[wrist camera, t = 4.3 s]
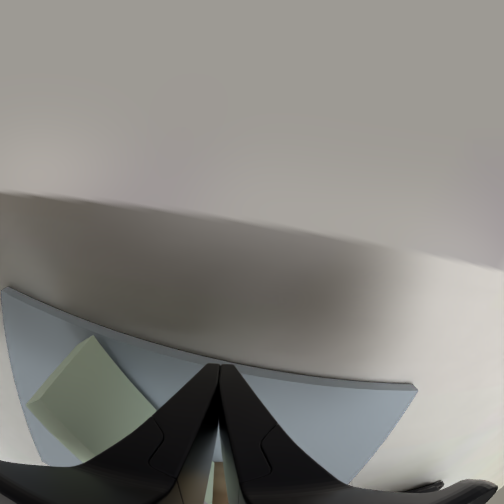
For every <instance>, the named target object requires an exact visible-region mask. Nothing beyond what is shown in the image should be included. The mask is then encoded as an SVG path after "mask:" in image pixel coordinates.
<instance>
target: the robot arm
mask: <svg viewBox="0 0 504 504" xmlns="http://www.w3.org/2000/svg"><path fill="white" fill-rule="evenodd" d="M218 426H219V435H220V443H221V452H222V460H223V467H224V475H225V482H226V489H227V496H228V503H229V504H485V503H486V502H487V501H488V500H489V499H490V498H491V497H492V496H493V495H494V494H495V493H496V491H497V489H498V486H497V485H495V484H494V483H492V482H489V481H486V480H475V479H466V480H462V481H460V482H457V483H455V484H453V485H451V486H449V487H447V488H445V489H442V490H440V489H441V488H442V487H443V486H444V483H443V482H438V483H435V484H432V485H429V486H425V487H422V488H418V489H415V490H411V491H407V492H403V493H398V492H387V491H378V490H370V489H362V488H356V487H353V486H350V485H347V484H345V483H343V482H342V481H340V480H338V479H337V478H336V477H334V476H333V475H332V474H331V473H329V472H328V471H327V470H326V469H324V468H323V467H322V466H321V465H320V464H318V463H317V462H316V461H315V460H314V459H312V458H311V457H310V456H309V455H308V454H307V453H306V452H304V451H303V450H302V449H301V448H300V447H299V446H298V445H297V444H296V443H295V442H294V441H293V440H292V439H291V438H290V437H289V435H288V434H287V433H286V432H285V431H284V430H283V428H282V427H281V426H280V425H279V424H278V422H277V421H276V420H275V418H274V417H273V416H272V415H271V413H270V412H269V411H268V409H267V408H266V407H265V406H264V404H263V403H262V402H261V400H260V399H259V398H258V396H257V395H256V394H255V392H254V391H253V390H252V388H251V387H250V386H249V384H248V383H247V382H246V380H245V379H244V378H243V376H242V375H241V373H240V372H239V371H238V369H237V368H236V366H235V365H234V364H221V366H220V364H218V363H207V364H206V365H205V366H204V367H203V368H202V369H201V370H200V371H199V372H198V373H196V374H195V375H194V376H193V377H192V378H191V379H190V380H189V381H188V382H187V383H186V384H185V385H184V386H183V387H182V388H181V389H180V390H179V391H178V392H177V393H175V394H174V395H173V396H172V397H171V398H170V399H169V400H168V401H167V402H166V403H165V404H164V405H163V406H161V407H160V408H159V409H158V410H157V411H156V412H155V413H154V414H153V415H152V417H149V418H148V419H147V420H146V421H145V422H144V423H143V424H141V425H140V426H139V427H138V428H137V429H135V430H134V431H133V432H132V433H130V434H129V435H127V436H126V437H125V438H123V439H122V440H120V441H119V442H117V443H116V444H114V445H113V446H111V447H109V448H108V449H106V450H105V451H103V452H101V453H100V454H98V455H97V456H95V457H93V458H92V459H90V460H88V461H86V462H84V463H82V464H79V465H76V466H71V467H55V466H38V465H27V464H18V463H11V462H5V461H1V460H0V504H204V499H205V494H206V489H207V484H208V479H209V474H210V469H211V464H212V459H213V454H214V449H215V444H216V438H217V433H218Z"/></svg>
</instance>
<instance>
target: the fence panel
mask: <svg viewBox="0 0 504 504" xmlns="http://www.w3.org/2000/svg"><path fill="white" fill-rule="evenodd" d="M26 407H27V408H28V409H29V410H30V411H31V412H32V413H33V415H34V416H35V417H36V418H37V419H38V420H39V421H40V422H41V423H42V424H43V425H44V426H45V428H46V429H47V430H48V431H49V432H50V433H51V434H52V435H53V436H54V437H55V438H56V439H57V440H58V441H59V442H60V443H62V444H63V445H64V446H65V447H66V448H67V449H68V450H69V451H70V452H71V453H72V454H74V455H75V456H76V457H77V458H78V459H79V460H80V461H82V462H83V463H84V462H86V461H88V460H90V459H92V458H93V457H95V456H97V455H98V454H100V453H101V452H103V451H105V450H106V449H108V448H109V447H111V446H113V445H114V444H116V443H117V442H119V441H120V440H122V439H123V438H125V437H126V436H127V435H129V434H130V433H132V432H133V431H134V430H135V429H137V428H138V427H139V426H140V425H141V424H143V423H144V422H145V421H146V420H147V419H148V418H149V417H152V415H153V414H154V413H155V412H156V411H157V410H156V409H155V408H154V407H153V406H152V405H151V404H150V403H149V401H148V400H147V399H146V398H145V397H144V396H143V395H142V394H141V393H140V392H139V391H138V390H137V388H136V387H135V386H134V385H133V384H132V383H131V382H130V380H129V379H128V378H127V377H126V376H125V375H124V373H123V372H122V371H121V370H120V369H119V367H118V366H117V365H116V364H115V363H114V361H113V360H112V359H111V358H110V356H109V355H108V354H107V352H106V351H105V350H104V349H103V347H102V346H101V345H100V343H99V342H98V341H97V339H96V338H95V337H94V335H93V336H91V337H89V338H88V339H86V340H84V341H82V342H81V343H79V344H78V345H77V346H76V347H75V348H74V349H73V350H72V351H71V352H70V354H69V355H68V356H67V357H66V358H65V359H64V360H63V361H62V362H61V364H60V365H59V366H58V367H57V368H56V369H55V370H54V372H53V373H52V374H51V375H50V376H49V377H48V379H47V380H46V381H45V382H44V383H43V384H42V386H41V387H40V388H39V389H38V390H37V392H36V393H35V394H34V395H33V396H32V398H31V399H30V400H29V401H28V402H27V404H26ZM213 479H214V462H213V461H212V464H211V469H210V474H209V479H208V484H207V489H206V494H205V499H204V504H212V497H213Z"/></svg>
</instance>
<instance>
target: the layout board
mask: <svg viewBox="0 0 504 504" xmlns="http://www.w3.org/2000/svg"><path fill="white" fill-rule="evenodd" d="M1 302H2V312H3V321H4V329H5V336H6V342H7V348H8V353H9V358H10V363H11V368H12V372H13V377H14V381H15V385H16V388H17V392H18V396H19V399H20V403H21V406H22V409H23V412H24V415H25V418H26V421H27V424H28V427H29V430H30V433H31V435H32V438H33V440H34V443H35V446H36V448H37V450H38V453H39V455H40V457H41V460H42V462H44V463H46V464H47V465H49V466H55V467H71V466H76V465H79V464H82V463H83V462H82V461H80V460H79V459H78V458H77V457H76V456H75V455H74V454H72V453H71V452H70V451H69V450H68V449H67V448H66V447H65V446H64V445H63V444H62V443H60V442H59V441H58V440H57V439H56V438H55V437H54V436H53V435H52V434H51V433H50V432H49V431H48V430H47V429H46V428H45V426H44V425H43V424H42V423H41V422H40V421H39V420H38V419H37V418H36V417H35V416H34V415H33V413H32V412H31V411H30V410H29V409H28V408H27V407H26V404H27V402H28V401H29V400H30V399H31V398H32V396H33V395H34V394H35V393H36V392H37V390H38V389H39V388H40V387H41V386H42V384H43V383H44V382H45V381H46V380H47V379H48V377H49V376H50V375H51V374H52V373H53V372H54V370H55V369H56V368H57V367H58V366H59V365H60V364H61V362H62V361H63V360H64V359H65V358H66V357H67V356H68V355H69V354H70V352H71V351H72V350H73V349H74V348H75V347H76V346H77V345H78V344H79V343H81V342H82V341H84V340H86V339H88V338H89V337H91V336H93V335H94V337H95V338H96V339H97V341H98V342H99V343H100V345H101V346H102V347H103V349H104V350H105V351H106V352H107V354H108V355H109V356H110V358H111V359H112V360H113V361H114V363H115V364H116V365H117V366H118V367H119V369H120V370H121V371H122V372H123V373H124V375H125V376H126V377H127V378H128V379H129V380H130V382H131V383H132V384H133V385H134V386H135V387H136V388H137V390H138V391H139V392H140V393H141V394H142V395H143V396H144V397H145V398H146V399H147V400H148V401H149V403H150V404H151V405H152V406H153V407H154V408H155V409H156V410H158V409H159V408H160V407H161V406H163V405H164V404H165V403H166V402H167V401H168V400H169V399H170V398H171V397H172V396H173V395H174V394H175V393H177V392H178V391H179V390H180V389H181V388H182V387H183V386H184V385H185V384H186V383H187V382H188V381H189V380H190V379H191V378H192V377H193V376H194V375H195V374H196V373H198V372H199V371H200V370H201V369H202V368H203V367H204V366H205V365H206V364H207V363H218V364H220V366H221V364H234V365H235V366H236V368H237V369H238V371H239V372H240V373H241V375H242V376H243V378H244V379H245V380H246V382H247V383H248V384H249V386H250V387H251V388H252V390H253V391H254V392H255V394H256V395H257V396H258V398H259V399H260V400H261V402H262V403H263V404H264V406H265V407H266V408H267V409H268V411H269V412H270V413H271V415H272V416H273V417H274V418H275V420H276V421H277V422H278V424H279V425H280V426H281V427H282V428H283V430H284V431H285V432H286V433H287V434H288V435H289V437H290V438H291V439H292V440H293V441H294V442H295V443H296V444H297V445H298V446H299V447H300V448H301V449H302V450H303V451H304V452H306V453H307V454H308V455H309V456H310V457H311V458H312V459H314V460H315V461H316V462H317V463H318V464H320V465H321V466H322V467H323V468H324V469H326V470H327V471H328V472H329V473H331V474H332V475H333V476H334V477H336V478H337V479H338V480H340V481H342V482H343V483H345V484H347V485H348V484H349V482H350V481H351V480H352V479H353V478H354V477H355V476H356V475H357V474H358V473H359V471H360V470H361V469H362V468H363V467H364V466H365V464H366V463H367V462H368V461H369V460H370V458H371V457H372V456H373V455H374V453H375V452H376V451H377V450H378V448H379V447H380V446H381V445H382V443H383V442H384V441H385V439H386V438H387V437H388V435H389V434H390V433H391V431H392V430H393V428H394V427H395V426H396V424H397V423H398V421H399V420H400V418H401V417H402V415H403V414H404V413H405V411H406V409H407V408H408V406H409V405H410V403H411V402H412V400H413V399H414V397H415V395H416V394H417V392H418V390H417V388H416V387H415V386H414V385H413V384H395V383H376V382H362V381H350V380H339V379H330V378H321V377H313V376H306V375H299V374H292V373H285V372H279V371H273V370H267V369H262V368H256V367H251V366H246V365H241V364H236V363H231V362H226V361H222V360H217V359H213V358H209V357H205V356H200V355H196V354H192V353H188V352H185V351H181V350H177V349H173V348H170V347H166V346H162V345H159V344H156V343H152V342H149V341H145V340H142V339H139V338H136V337H133V336H129V335H126V334H123V333H120V332H117V331H114V330H111V329H109V328H106V327H103V326H100V325H97V324H95V323H92V322H89V321H86V320H84V319H81V318H79V317H76V316H73V315H71V314H68V313H66V312H63V311H61V310H59V309H56V308H54V307H51V306H49V305H47V304H45V303H42V302H40V301H38V300H36V299H33V298H31V297H29V296H27V295H25V294H23V293H20V292H18V291H16V290H14V289H12V288H10V287H6V288H5V289H3V290H1ZM212 461H213V462H223V460H222V452H221V443H220V435H219V426H218V433H217V438H216V444H215V449H214V454H213V459H212Z"/></svg>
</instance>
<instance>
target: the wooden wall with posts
mask: <svg viewBox="0 0 504 504" xmlns="http://www.w3.org/2000/svg"><path fill="white" fill-rule="evenodd" d="M212 504H229V503H228V496H227V489H226V482H225V475H224V467H223V462H214V479H213V497H212Z"/></svg>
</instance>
